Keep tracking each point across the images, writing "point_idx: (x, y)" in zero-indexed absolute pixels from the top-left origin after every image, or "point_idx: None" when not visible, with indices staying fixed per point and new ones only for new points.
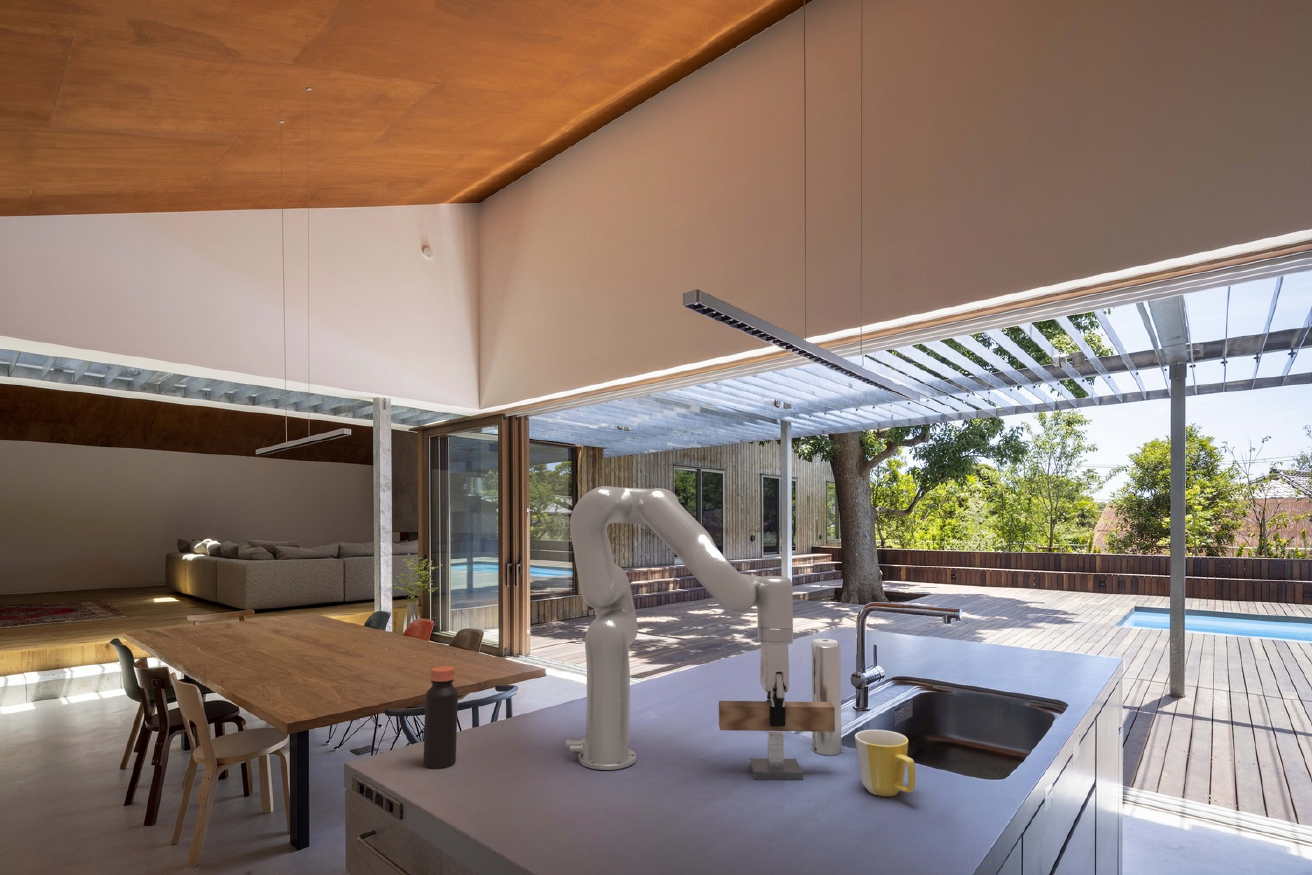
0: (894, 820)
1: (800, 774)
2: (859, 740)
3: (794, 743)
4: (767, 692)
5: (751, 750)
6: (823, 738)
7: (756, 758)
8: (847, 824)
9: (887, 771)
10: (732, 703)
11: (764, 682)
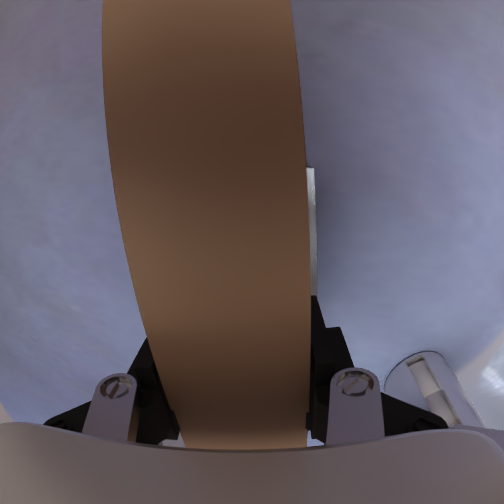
0: (69, 407)
1: None
2: None
3: (473, 311)
4: (345, 413)
5: (440, 187)
6: (402, 399)
7: (313, 192)
8: (25, 343)
9: None
10: (187, 36)
11: (12, 488)
